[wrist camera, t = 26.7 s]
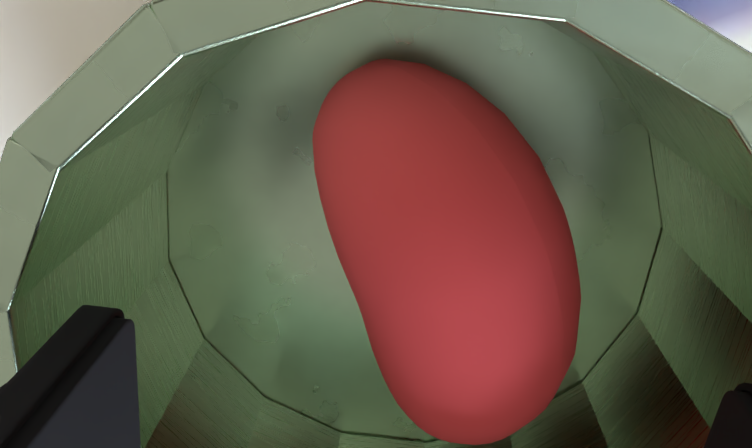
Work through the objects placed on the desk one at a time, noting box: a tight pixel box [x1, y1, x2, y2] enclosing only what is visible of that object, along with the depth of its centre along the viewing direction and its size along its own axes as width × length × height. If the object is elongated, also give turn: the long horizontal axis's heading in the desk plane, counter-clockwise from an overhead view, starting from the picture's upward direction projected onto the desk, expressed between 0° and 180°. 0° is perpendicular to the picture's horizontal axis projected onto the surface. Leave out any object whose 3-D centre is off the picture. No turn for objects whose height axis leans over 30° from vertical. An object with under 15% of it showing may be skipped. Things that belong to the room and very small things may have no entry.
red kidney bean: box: [312, 59, 581, 445], centre depth 15 cm, size 5×9×6 cm, turn 6°
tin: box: [0, 0, 752, 448], centre depth 14 cm, size 14×14×8 cm
